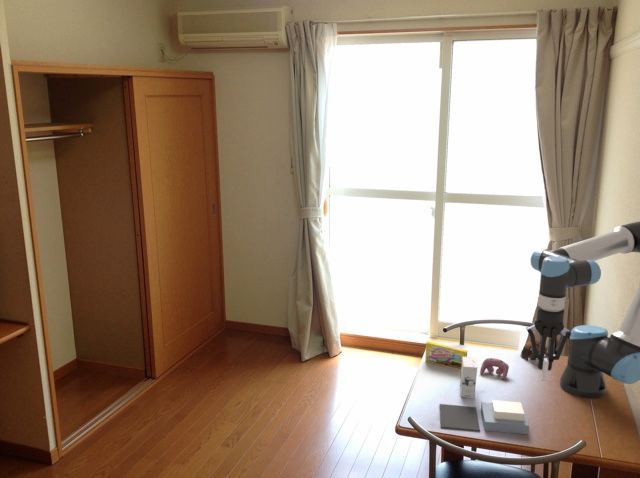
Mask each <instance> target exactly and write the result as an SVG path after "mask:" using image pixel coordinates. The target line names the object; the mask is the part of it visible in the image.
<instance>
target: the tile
mask: <svg viewBox="0 0 640 478" xmlns="http://www.w3.org/2000/svg"><path fill="white" fill-rule="evenodd" d="M491 403H492V411H493V416H494V418H496V419H507V420H518V421H524V413H525V410H524V408H522V407H523V405H522V402H520V401H507V400H495V399H492V401H491ZM523 410H524V411H523Z"/></svg>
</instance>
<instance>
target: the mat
mask: <svg viewBox="0 0 640 478" xmlns="http://www.w3.org/2000/svg"><path fill="white" fill-rule="evenodd" d="M439 420H440V421H439V422H440V428H441V429H448V430H449V429H450V430H458V431H470V432H471V431H472V432H479V433H480V432H481V428H480V422H479V416H478V410H477V407H476V406H467V405H455V404H447V403H446V404H445V403H444V404H443V403H439Z"/></svg>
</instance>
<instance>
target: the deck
mask: <svg viewBox="0 0 640 478" xmlns="http://www.w3.org/2000/svg"><path fill="white" fill-rule="evenodd" d="M522 408H523V406H522ZM523 411H524V421H518V420H507V419H496V418H494V416H493V411H492V402H485V401H482V402H481V403H480V414H481V419H482V424H483V430H484V431H488V432H500V433H501V432H502V433H511V434H520V435H529V423H528V419H527V417H526V413H525V410H524V408H523Z"/></svg>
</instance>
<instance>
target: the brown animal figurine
mask: <svg viewBox="0 0 640 478" xmlns="http://www.w3.org/2000/svg"><path fill="white" fill-rule="evenodd" d="M535 341H536V347H537V353H538V354H539V345H540V341H537V340H535ZM547 352H548V346H545V354H544V358H547ZM520 357H522V359H524V360H525V361H528V360H529V359H530V360H531V361H536V360H538V359H537V358H534V356H533V353H532V347H531V341H530V340H529V341H528V342H527V341H526V343H525V344H524V346H523V348H522V350H521V352H520Z"/></svg>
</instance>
